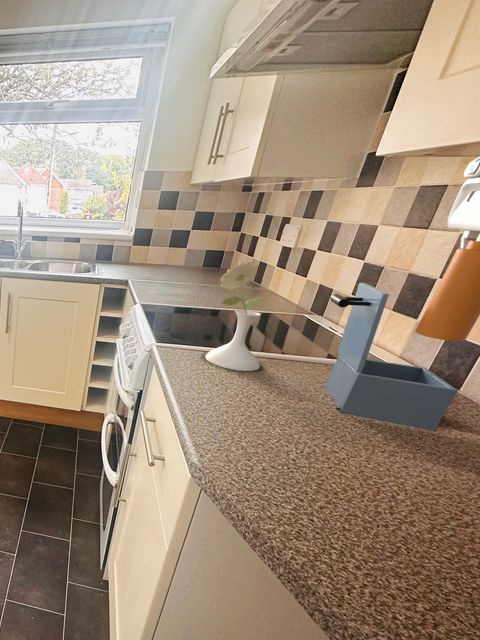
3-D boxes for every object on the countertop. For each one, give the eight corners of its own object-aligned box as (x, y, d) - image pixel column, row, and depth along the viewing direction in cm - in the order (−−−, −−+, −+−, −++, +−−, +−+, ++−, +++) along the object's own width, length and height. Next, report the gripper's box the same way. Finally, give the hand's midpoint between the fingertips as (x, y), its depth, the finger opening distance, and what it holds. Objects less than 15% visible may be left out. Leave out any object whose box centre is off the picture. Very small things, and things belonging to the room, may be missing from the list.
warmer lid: (364, 282, 80) (329, 281, 82) (389, 293, 70) (348, 292, 72) (342, 353, 85) (309, 350, 87) (362, 372, 76) (324, 368, 78)
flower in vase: (247, 362, 105) (282, 260, 94) (265, 380, 95) (306, 267, 84) (191, 356, 107) (219, 256, 97) (202, 372, 97) (235, 263, 87)
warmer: (403, 407, 84) (425, 367, 80) (432, 434, 75) (458, 390, 71) (321, 393, 89) (338, 354, 86) (338, 416, 80) (358, 374, 76)
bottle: (453, 334, 67) (520, 214, 60) (473, 344, 63) (548, 215, 55) (408, 328, 69) (467, 212, 62) (424, 337, 65) (490, 213, 57)
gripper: (640, 152, 46) (560, 279, 52) (518, 165, 63) (468, 260, 69) (558, 152, 48) (490, 273, 54) (461, 165, 65) (418, 256, 71)
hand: (477, 266), depth 61 cm, fingers closed on bottle, 5 cm apart
